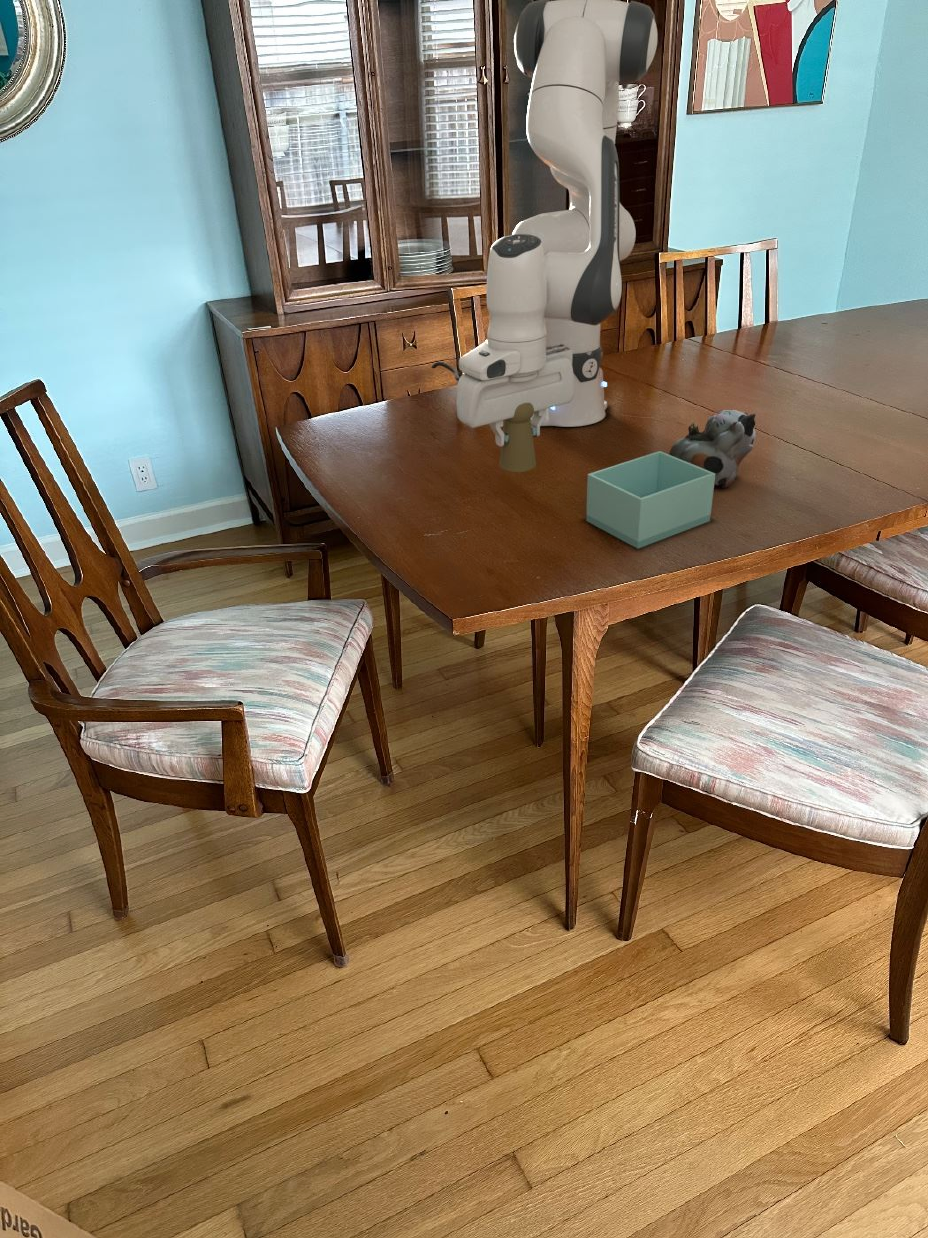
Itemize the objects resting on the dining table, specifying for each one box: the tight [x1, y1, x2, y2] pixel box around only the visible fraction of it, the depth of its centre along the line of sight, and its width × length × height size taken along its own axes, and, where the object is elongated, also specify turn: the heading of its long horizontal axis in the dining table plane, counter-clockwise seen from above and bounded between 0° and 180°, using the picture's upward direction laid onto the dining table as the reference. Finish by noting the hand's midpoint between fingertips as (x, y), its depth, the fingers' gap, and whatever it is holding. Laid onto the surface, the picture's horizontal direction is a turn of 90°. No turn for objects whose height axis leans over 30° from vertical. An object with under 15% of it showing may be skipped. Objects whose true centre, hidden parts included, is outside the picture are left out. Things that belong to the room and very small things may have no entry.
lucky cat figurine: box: [668, 409, 757, 489], centre depth 145 cm, size 15×12×14 cm
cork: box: [498, 403, 537, 473], centre depth 136 cm, size 6×6×11 cm
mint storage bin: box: [585, 450, 715, 549], centre depth 132 cm, size 8×15×12 cm
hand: (517, 440), depth 136 cm, fingers closed on cork, 4 cm apart
